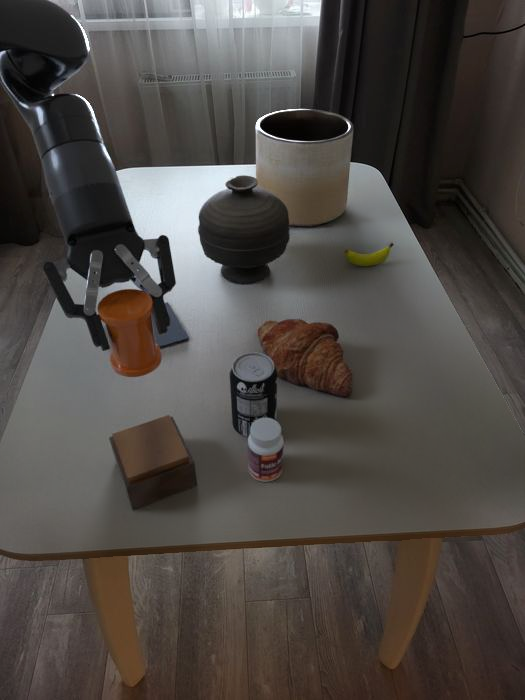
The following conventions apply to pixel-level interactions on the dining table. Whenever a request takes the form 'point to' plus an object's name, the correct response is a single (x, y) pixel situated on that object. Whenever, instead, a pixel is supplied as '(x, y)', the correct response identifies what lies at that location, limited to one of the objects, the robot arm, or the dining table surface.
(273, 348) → the pastry
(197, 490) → the dining table surface
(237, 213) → the pot
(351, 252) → the fruit
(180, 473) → the wooden box
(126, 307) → the spool
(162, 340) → the mat
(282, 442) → the pill bottle
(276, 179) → the planter
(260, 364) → the beverage can
